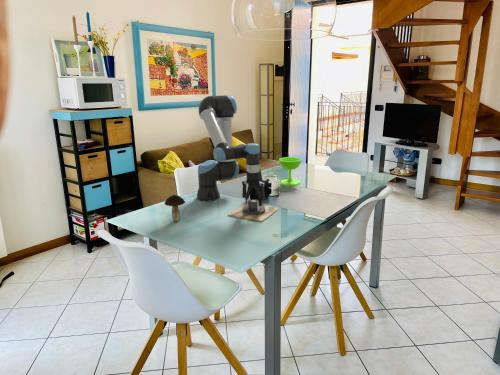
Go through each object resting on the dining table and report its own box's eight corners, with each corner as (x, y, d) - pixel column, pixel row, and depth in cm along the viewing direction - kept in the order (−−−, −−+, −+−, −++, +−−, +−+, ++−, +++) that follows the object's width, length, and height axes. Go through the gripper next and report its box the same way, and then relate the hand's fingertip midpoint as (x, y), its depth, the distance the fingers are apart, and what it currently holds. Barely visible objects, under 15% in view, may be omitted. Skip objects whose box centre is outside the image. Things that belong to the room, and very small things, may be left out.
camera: (270, 201, 226) (269, 170, 220) (249, 200, 228) (248, 169, 223) (272, 196, 235) (272, 166, 229) (252, 195, 238) (251, 166, 232)
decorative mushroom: (177, 216, 204) (175, 191, 199) (190, 220, 197) (188, 194, 193) (162, 222, 195) (159, 195, 191) (175, 226, 189) (172, 199, 184)
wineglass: (301, 185, 258) (302, 161, 253) (279, 186, 258) (279, 161, 253) (299, 180, 273) (299, 156, 268) (278, 180, 273) (278, 157, 268)
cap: (246, 212, 205) (246, 201, 204) (251, 208, 210) (251, 198, 209) (255, 213, 202) (255, 203, 201) (260, 210, 207) (260, 200, 206)
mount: (227, 215, 203) (227, 212, 202) (246, 204, 221) (246, 200, 221) (262, 222, 193) (262, 218, 192) (279, 209, 211) (279, 205, 210)
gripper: (235, 171, 201) (236, 210, 208) (265, 174, 192) (265, 215, 199) (241, 168, 208) (242, 206, 214) (271, 171, 199) (271, 210, 205)
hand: (253, 210), depth 207 cm, fingers closed on cap, 6 cm apart
